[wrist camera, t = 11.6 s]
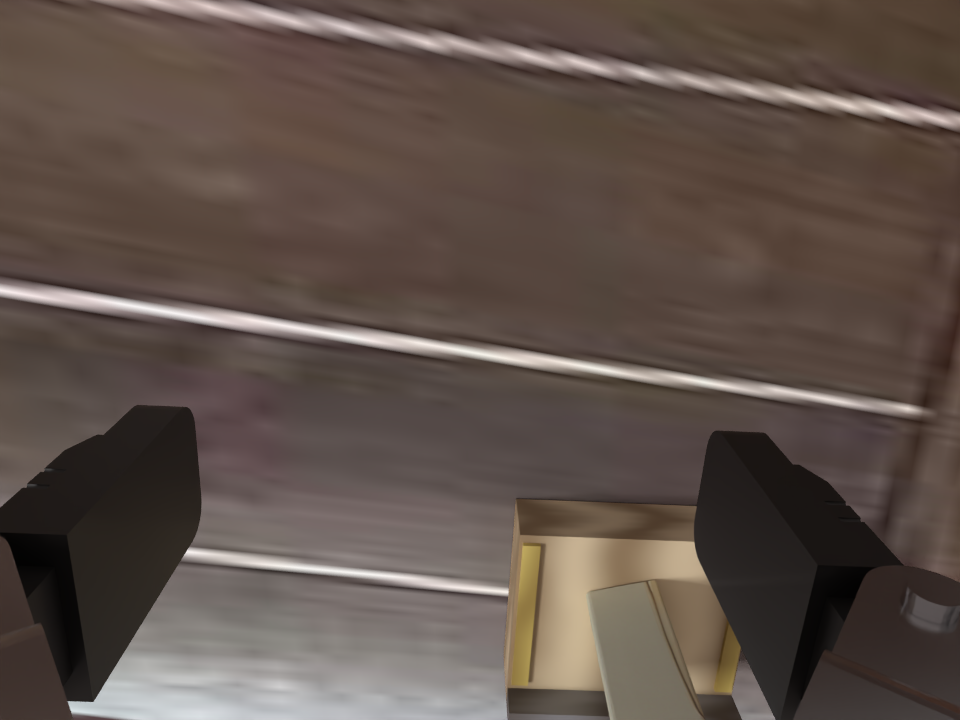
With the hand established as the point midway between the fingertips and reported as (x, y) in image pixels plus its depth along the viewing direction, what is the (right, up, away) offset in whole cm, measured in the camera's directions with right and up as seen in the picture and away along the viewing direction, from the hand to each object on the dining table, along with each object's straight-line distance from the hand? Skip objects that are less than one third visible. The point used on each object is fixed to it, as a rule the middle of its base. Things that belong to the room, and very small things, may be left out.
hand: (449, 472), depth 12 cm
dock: (+9, -13, +37) cm, 40 cm away
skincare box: (+9, -14, +33) cm, 37 cm away
